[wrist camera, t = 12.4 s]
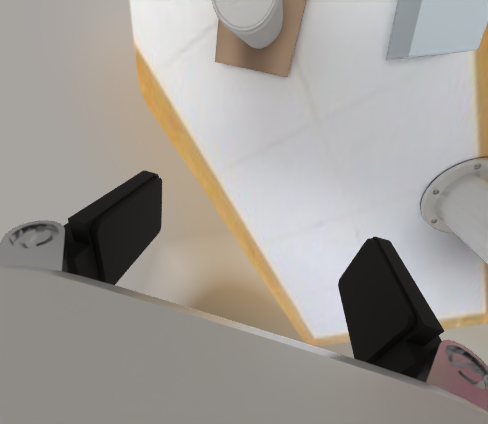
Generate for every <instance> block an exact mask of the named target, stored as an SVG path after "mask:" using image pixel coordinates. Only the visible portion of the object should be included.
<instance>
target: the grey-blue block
mask: <svg viewBox="0 0 488 424" xmlns="http://www.w3.org/2000/svg"><path fill="white" fill-rule="evenodd" d="M487 23H488V0H398V4H397V9H396V13H395V18H394V23H393V28H392V33H391V38H390V43H389V48H388V53H387V58H386V60H392V59H401V58H411V57H421V56H431V55H441V54H449V53H457V52H465V51H473V50H478V47H479V44H480V42H481V39H482V36H483V34H484V31H485V28H486V26H487Z"/></svg>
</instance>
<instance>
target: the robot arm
mask: <svg viewBox="0 0 488 424" xmlns="http://www.w3.org/2000/svg"><path fill="white" fill-rule="evenodd" d="M161 212H162V179H161V178H159V176H158V174H155V173H152V172H148V171H142V172H140V173H139V174H137V175H136V176H134V177H133V178H131V179H129V180H128V181H126V182H125V183H123V184H122V185H120V186H118V187H117V188H115V189H114V190H112V191H111V192H109V193H107V194H106V195H104V196H103V197H101V198H100V199H98V200H96V201H95V202H93V203H92V204H90V205H89V206H87V207H86V208H84V209H82V210H81V211H79V212H78V213H76V214H74V215H73V216H71V217H70V218H68V221H69V223H67V224H66V225H64V226H63V225H61V224H60V223H57V222H55V221H35V222H29V223H26V224H23V225H20V226H18V227H15V228H13V229H12V230H10V231H9V232H8V233H6V234H5V236H4V237H3V239H2V241H1V243H0V424H488V366H487V365H486V364H485V363H484V362H483V361H482V360H481V359H480V358H479V357H478V356H477V355H476V354H474V353H473V352H472V351H471V350H469V349H468V348H466V347H465V346H463V345H461V344H459V343H457V342H455V341H451V340H444V341H441V339H440V337H439V335H440V334H441V333H443V332H444V330H443V328H442V326H441V325H440V323H439V321H438V320H437V318H436V317H435V315H434V313H433V312H432V310H431V308H430V307H429V305H428V303H427V302H426V300H425V298H424V297H423V295H422V293H421V292H420V290H419V288H418V287H417V285H416V283H415V282H414V280H413V278H412V277H411V275H410V273H409V272H408V270H407V268H406V267H405V265H404V263H403V262H402V260H401V258H400V257H399V255H398V253H397V252H396V250H395V248H394V247H393V245H392V243H391V242H390V241H389V240H385V239H382V238H378V237H373V238H371V239H367V240H366V242H365V243H364V244H363V246H362V247H361V249H360V250H359V252H358V253H357V255H356V256H355V257H354V259H353V260H352V262H351V263H350V265H349V266H348V268H347V269H346V270H345V272H344V273H343V275H342V276H341V278H340V279H339V283H338V287H339V291H340V296H341V300H342V305H343V309H344V314H345V318H346V323H347V327H348V331H349V336H350V340H351V345H352V349H353V354H354V358H355V359H353V358H350V357H347V356H344V355H341V354H338V353H334V352H331V351H328V350H325V349H322V348H319V347H315V346H312V345H309V344H306V343H303V342H299V341H296V340H293V339H290V338H286V337H283V336H280V335H277V334H273V333H270V332H267V331H264V330H260V329H257V328H254V327H251V326H247V325H244V324H241V323H238V322H235V321H231V320H228V319H225V318H221V317H218V316H215V315H212V314H208V313H205V312H202V311H199V310H195V309H192V308H189V307H185V306H182V305H179V304H176V303H172V302H169V301H166V300H162V299H159V298H155V297H152V296H149V295H146V294H142V293H139V292H136V291H132V290H129V289H126V288H122V287H118V286H115V284H116V283H117V282H118V280H119V279H120V278H121V277H122V276H123V275H124V273H125V272H126V271H127V270H128V269H129V267H130V266H131V265H132V264H133V263H134V262H135V260H136V259H137V258H138V257H139V256H140V255H141V253H142V252H143V251H144V250H145V249H146V247H147V246H148V245H149V244H150V242H152V240H153V239H154V238H155V237H156V236H157V234H158V233H159V231H160V229H161ZM421 212H422V216H423V217H424V219H425V220H426V221H427V222H428V224H429V225H431V226H432V227H434V228H435V229H437V230H440V231H443V232H447V233H455V234H456V235H457V236H458V237H459V238H460V239H461V240H462V241H463V242H464V243H466V244H467V245H468V246H469V247H470V248H471V249H472V250H473V251H474V252H475V253H476V254H477V255H478V256H479V257H480V258H482V259H483V260H484V261H485V262H486V263H487V264H488V157H486V158H478V159H474V160H470V161H466V162H463V163H461V164H458V165H456V166H454V167H452V168H451V169H449V170H447V171H445V172H444V173H443V174H441V175H440V176H439V177H437V178H436V179H435V180H434V181H433V182H432V183H431V184H430V186H429V187H428V188H427V190H426V191H425V193H424V195H423V198H422V201H421Z"/></svg>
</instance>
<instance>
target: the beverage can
mask: <svg viewBox="0 0 488 424" xmlns="http://www.w3.org/2000/svg"><path fill="white" fill-rule="evenodd" d="M212 4H213V7H214V9H215V12H216V14H217V16H218V18H219V19H220V21H221V22H222V23H223V25H224V26H225V27H226V28H228V29H229V30H230V31H232V32H233V33H234V34H235V35H237V36H238V37H239V38H240V39H242V40H243V41H244V42H245V43H247V44H248V45H249V46H250V47H253V48H256V49H261V48H264V47H267V46H268V45H270V44H271V43H272V42H273V41H274V40H275V39H276V38H277V36H278V35H279V33H280V31H281V28H282V23H283V3H282V0H212Z"/></svg>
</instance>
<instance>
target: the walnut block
mask: <svg viewBox="0 0 488 424" xmlns="http://www.w3.org/2000/svg"><path fill="white" fill-rule="evenodd" d="M282 3H283V23H282V28H281V31H280V33H279V35H278V36H277V38H276V39H275V40H274V41H273V42H272V43H271V44H270V45H268V46H267V47H264V48H261V49H256V48H253V47H250V46H249V45H248V44H247V43H245V42H244V41H243V40H242V39H240V38H239V37H238V36H237V35H235V34H234V33H233V32H232V31H230V30H229V29H228V28H226V27H225V26H224V25H223V23H222V22H221V21H220V19H219V21H218V33H217V44H216V56H215V62H219V63H224V64H228V65H233V66H238V67H243V68H247V69H252V70H257V71H261V72H266V73H271V74H276V75H280V76H285V77H288V74H289V70H290V65H291V61H292V57H293V53H294V49H295V45H296V41H297V37H298V32H299V28H300V24H301V20H302V16H303V12H304V8H305V4H306V0H282Z"/></svg>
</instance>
